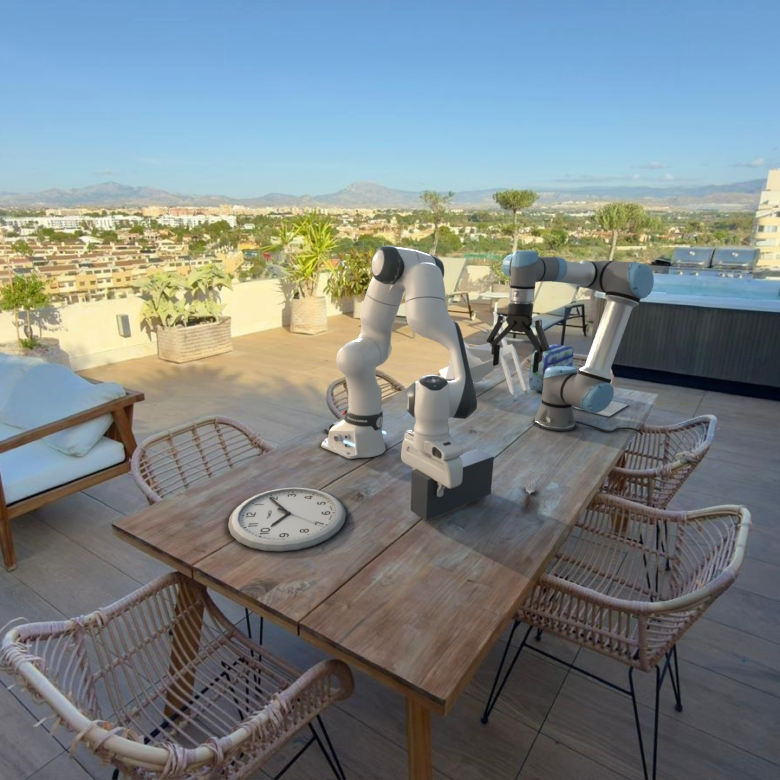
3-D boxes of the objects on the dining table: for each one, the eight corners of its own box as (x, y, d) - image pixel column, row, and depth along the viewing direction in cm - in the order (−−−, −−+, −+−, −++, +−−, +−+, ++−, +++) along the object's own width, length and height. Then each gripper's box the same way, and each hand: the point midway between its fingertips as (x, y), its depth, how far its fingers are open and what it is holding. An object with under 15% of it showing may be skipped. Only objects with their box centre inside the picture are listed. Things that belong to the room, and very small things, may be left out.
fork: (520, 510, 142) (521, 503, 141) (526, 484, 156) (527, 478, 155) (530, 512, 141) (531, 505, 140) (535, 486, 155) (536, 480, 154)
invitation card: (608, 416, 214) (573, 407, 224) (608, 416, 214) (573, 408, 224) (628, 404, 229) (594, 396, 238) (628, 405, 229) (594, 397, 238)
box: (474, 485, 152) (477, 448, 149) (490, 494, 147) (494, 456, 144) (410, 510, 138) (411, 470, 135) (426, 521, 134) (427, 480, 130)
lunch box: (545, 397, 238) (550, 352, 231) (524, 391, 245) (529, 348, 239) (572, 386, 255) (578, 344, 249) (552, 381, 262) (557, 340, 256)
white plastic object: (461, 429, 252) (437, 405, 227) (444, 352, 274) (420, 323, 250) (535, 404, 240) (518, 377, 215) (510, 326, 262) (492, 293, 237)
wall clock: (346, 543, 123) (215, 547, 120) (346, 549, 123) (215, 553, 121) (345, 483, 151) (239, 485, 149) (345, 488, 152) (240, 490, 149)
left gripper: (395, 430, 138) (395, 477, 142) (449, 457, 122) (446, 509, 126) (414, 425, 141) (413, 471, 146) (468, 450, 126) (465, 501, 130)
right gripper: (479, 299, 166) (474, 364, 172) (556, 307, 152) (548, 377, 158) (489, 297, 172) (485, 359, 178) (565, 304, 158) (557, 372, 164)
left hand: (428, 489), depth 136 cm, fingers closed on box, 6 cm apart
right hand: (514, 368), depth 168 cm, fingers open, 13 cm apart
